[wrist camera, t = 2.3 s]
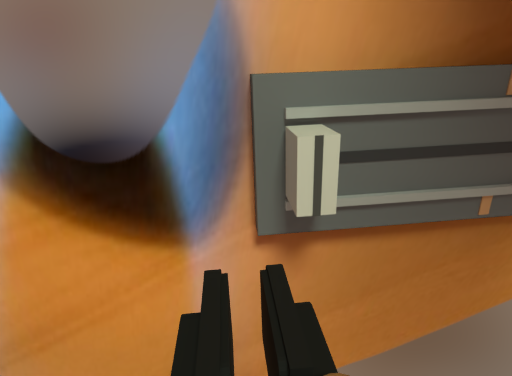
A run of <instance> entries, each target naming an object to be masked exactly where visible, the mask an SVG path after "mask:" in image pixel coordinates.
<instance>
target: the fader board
mask: <svg viewBox="0 0 512 376" xmlns="http://www.w3.org/2000/svg"><path fill="white" fill-rule="evenodd" d="M250 84H251V109H252V135H253V161H254V187H255V213H256V228H257V233H258V236H260V235H272V234H285V233H298V232H310V231H323V230H335V229H348V228H360V227H373V226H386V225H398V224H411V223H423V222H436V221H448V220H461V219H474V218H486V217H499V216H511V215H512V64H503V65H477V66H451V67H425V68H399V69H373V70H347V71H321V72H295V73H269V74H250ZM316 124H322V125H324V126H326V127H328V128H330V129H332V130H333V131H335V132H337V133H339V134H341V138H340V155H339V172H338V188H337V205H336V214H329V215H321V216H303V217H296V215H295V213H294V211H293V209H292V207H291V205H290V203H289V201H288V199H287V197H286V126H297V125H316Z"/></svg>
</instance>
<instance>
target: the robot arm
mask: <svg viewBox="0 0 512 376" xmlns="http://www.w3.org/2000/svg"><path fill="white" fill-rule="evenodd" d="M260 282H261V310H262V335H263V344H264V351H265V357H266V364H267V371H268V376H349V375H345V374H341V373H338V372H337V369H336V367H335V364H334V362H333V359H332V356H331V354H330V351H329V348H328V346H327V343H326V341H325V338H324V335H323V333H322V330H321V327H320V325H319V322H318V320H317V317H316V314H315V312H314V309H313V306H312V304H311V303H310V302H302V303H294V300H293V297H292V294H291V291H290V287H289V284H288V281H287V278H286V274H285V271H284V268H283V265H282V264H276V265H266V270H260ZM171 376H234V358H233V336H232V323H231V311H230V298H229V285H228V274H227V273H224V274H221V269H219V270H207V271H204V282H203V293H202V304H201V312H200V313H190V314H182V315H181V319H180V324H179V330H178V336H177V342H176V348H175V354H174V360H173V366H172V371H171Z"/></svg>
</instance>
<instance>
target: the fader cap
mask: <svg viewBox="0 0 512 376" xmlns="http://www.w3.org/2000/svg"><path fill="white" fill-rule="evenodd" d="M340 138H341V134H339V133H337V132H335V131H333V130H332V129H330V128H328V127H326V126H324V125H322V124H316V125H297V126H286V197H287V199H288V201H289V203H290V205H291V207H292V209H293V211H294V213H295V215H296V217H303V216H321V215H329V214H336V205H337V188H338V172H339V155H340Z"/></svg>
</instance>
